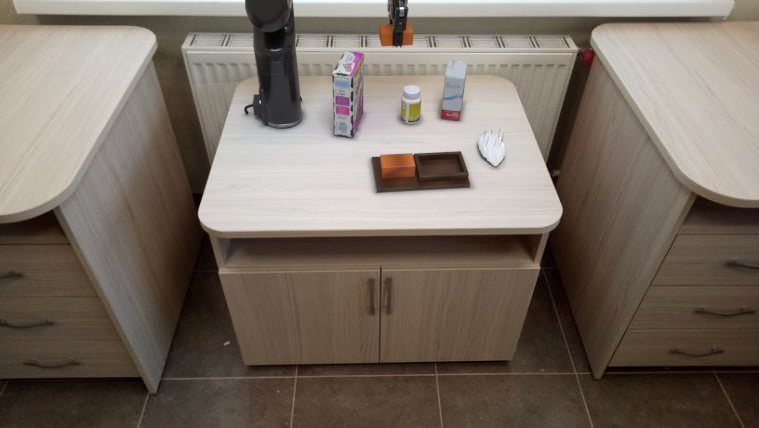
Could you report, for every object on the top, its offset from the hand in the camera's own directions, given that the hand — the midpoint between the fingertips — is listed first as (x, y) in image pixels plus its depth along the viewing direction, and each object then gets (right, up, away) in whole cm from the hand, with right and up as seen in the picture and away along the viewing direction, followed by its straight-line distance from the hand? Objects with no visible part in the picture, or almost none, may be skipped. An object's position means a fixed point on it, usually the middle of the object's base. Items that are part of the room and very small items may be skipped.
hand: (395, 39), depth 122 cm
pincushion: (+22, -25, +3) cm, 33 cm away
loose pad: (0, 0, 0) cm, 0 cm away
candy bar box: (-11, -18, +10) cm, 23 cm away
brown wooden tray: (+5, -30, -4) cm, 31 cm away
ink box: (+15, -13, +15) cm, 25 cm away
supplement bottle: (+4, -16, +12) cm, 20 cm away
